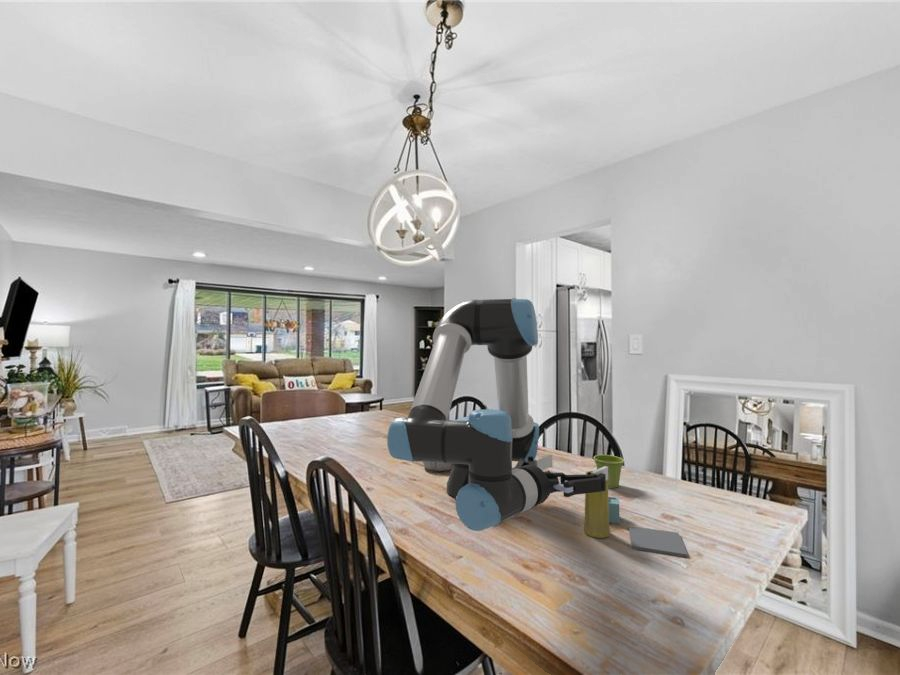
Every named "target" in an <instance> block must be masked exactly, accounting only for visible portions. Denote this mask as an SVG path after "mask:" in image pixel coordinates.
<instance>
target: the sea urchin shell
mask: <svg viewBox="0 0 900 675" xmlns="http://www.w3.org/2000/svg"><path fill="white" fill-rule="evenodd" d="M421 463H423V467H425V469H427V470H430V471H434V470H435V471H434V472H436V471H438V472H445V471H451V469H452V463H441V462H423V461H421Z"/></svg>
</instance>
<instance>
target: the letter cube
mask: <svg viewBox="0 0 900 675" xmlns="http://www.w3.org/2000/svg"><path fill="white" fill-rule="evenodd" d="M608 500H609V523H610V522H611V524H618V525H619V524H620V499H619V497H616V496H608Z"/></svg>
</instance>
